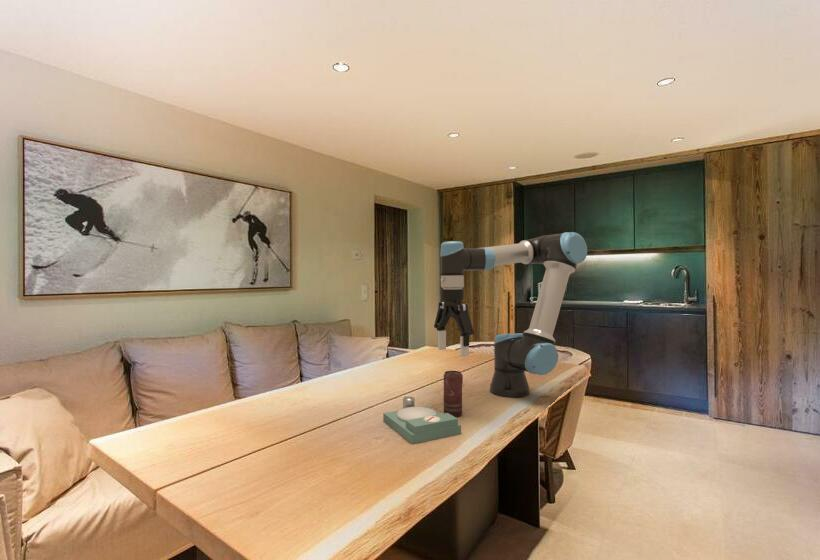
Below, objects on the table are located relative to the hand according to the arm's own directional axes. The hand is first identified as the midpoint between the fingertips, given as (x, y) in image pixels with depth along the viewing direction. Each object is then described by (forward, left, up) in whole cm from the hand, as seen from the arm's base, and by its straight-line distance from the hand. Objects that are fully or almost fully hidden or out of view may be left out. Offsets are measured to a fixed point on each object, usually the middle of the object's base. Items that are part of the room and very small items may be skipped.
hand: (452, 352), depth 134 cm
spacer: (+11, -11, -21) cm, 26 cm away
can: (0, 0, -21) cm, 21 cm away
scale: (+15, +5, -20) cm, 26 cm away
